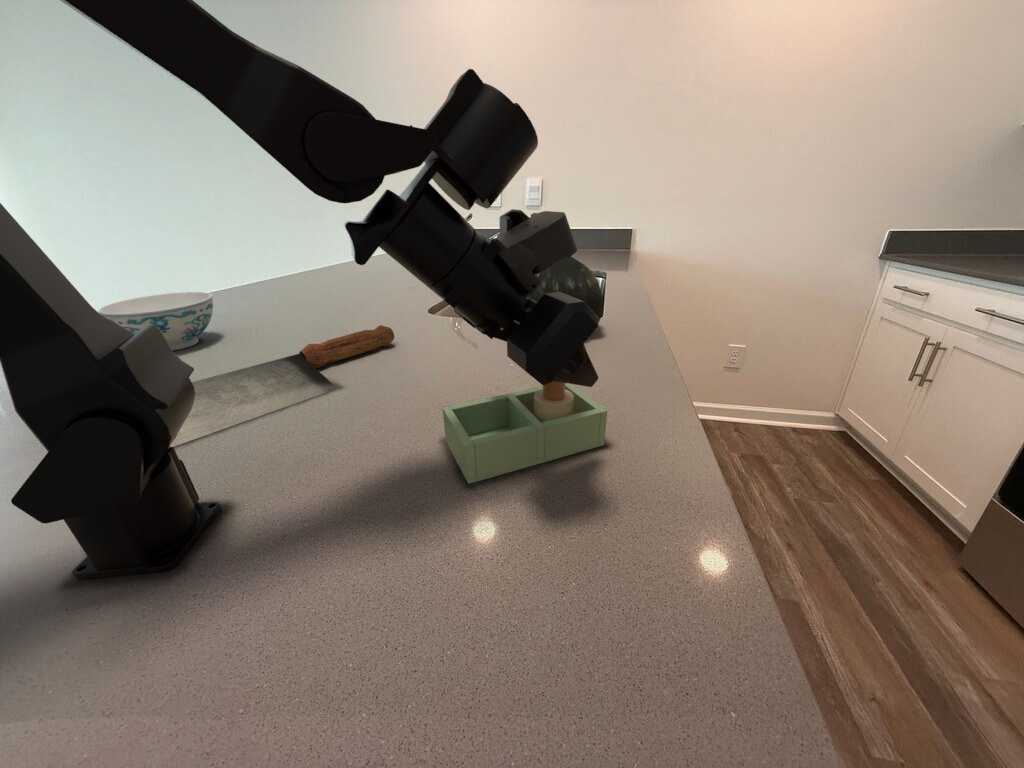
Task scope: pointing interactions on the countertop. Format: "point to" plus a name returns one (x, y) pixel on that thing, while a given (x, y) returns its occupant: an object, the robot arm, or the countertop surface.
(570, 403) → the dish brush
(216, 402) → the meat cleaver
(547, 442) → the green divided tray
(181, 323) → the chinaware
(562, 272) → the squash
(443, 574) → the countertop surface
